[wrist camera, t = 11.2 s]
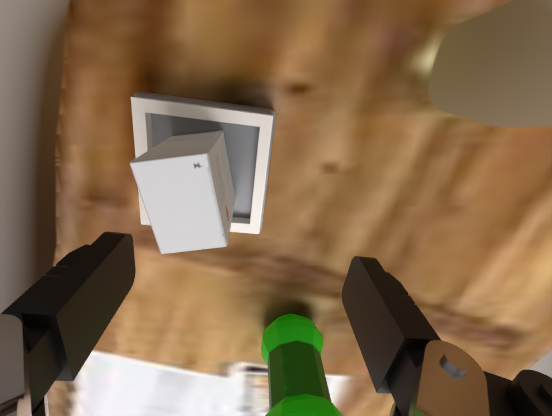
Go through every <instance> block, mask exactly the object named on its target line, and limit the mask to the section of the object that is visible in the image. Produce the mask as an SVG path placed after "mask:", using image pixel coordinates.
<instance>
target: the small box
mask: <svg viewBox="0 0 552 416" xmlns="http://www.w3.org/2000/svg"><path fill="white" fill-rule="evenodd" d="M130 166H131V169H132V172H133V175H134V178H135V181H136V184H137V187H138V189H139V192H140V195H141V198H142V201H143V204H144V206H145V209H146V212H147V215H148V218H149V221H150V224H151V227H152V230H153V233H154V235H155V238H156V241H157V244H158V247H159V250H160V253H161V254H165V253H175V252H183V251H192V250H200V249H209V248H218V247H226V246H227V245H228V239H229V233H230V228H231V222H232V216H233V210H234V205H235V199H236V197H235V192H234V187H233V182H232V176H231V171H230V166H229V160H228V155H227V149H226V144H225V138H224V132H223V131H222V130H221V131H213V132H204V133H195V134H187V135H178V136H171V137H170V138H168V139H166V140H165V141H163V142H162V143H160V144H158V145H157V146H155V147H153V148H152V149H150V150H149V151H147V152H145V153H144V154H142V155H141V156H139V157H137V158H136V159H134V160H133V161H131V162H130Z"/></svg>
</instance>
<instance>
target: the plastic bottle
mask: <svg viewBox="0 0 552 416" xmlns="http://www.w3.org/2000/svg"><path fill="white" fill-rule="evenodd" d="M322 346H323V338H322V334H321V333H320V332H319V331H318V329H317V328H316V327H315V325H314V324H313V323H312V321H311V320H310V319H309V318H307V317H303V316H300V315H296V314H292V313H289V314H285V315H281V316H280V317H277V318H276V319H275V320H274V321H273V322H272V323H271V324H270V325H269V326H267V327H266V328H265V330H264V332H263V337H262V347H261V350H262V356H263V358H264V361H265V362H266V364H267V365H268V379H269V406H270V411H269V412H268V413H267V414H266V415H265V416H343V415H342V414H341V413H340V411H339V410H338V409H337V408H336V407H335V406H334V405H333V403H331V399H330V394H329V390H328V386H327V382H326V377H325V373H324V369H323V365H322V360H321V356H320V355H321V351H322Z"/></svg>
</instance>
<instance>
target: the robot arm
mask: <svg viewBox="0 0 552 416" xmlns="http://www.w3.org/2000/svg"><path fill="white" fill-rule="evenodd" d="M134 278H135V259H134V247H133V238H132V235H131V234H126V233H116V232H104V233H103V234H102V235H101V236H100V237H99V238H98V239H97V240H96V241H95V242H93V243H92V244H91V245H84V246H82V247H80V248H78V249H76V250H74V251H72V252H70V253H68V254H67V255H66V256H65V257H64V258H63V259H61V260H60V261H59V262H58V263H57V264H56V267H55V266H54V267H53V268H51V269H50V270H49V271H48V272H47V273H46V275H45V276H42V277H41V278H40V279H39V280H38V281H37V282H36V283H35V284H34V285H32V286H31V287H30V288H29V289H28V290H27V291H26V292H25V293H24V294H22V295H21V296H20V297H19V298H18V299H17V300H16V301H15V302H13V303H12V304H11V305H10V306H9V307H8V308H7V309H6V310H4V311H3V312H2V313H1V314H0V416H49V411H48V400H47V396H46V393H47V392H48V390H49V389H50V387H51V386H52V384H53V383H54V381H55V380H57V381H73V380H74V379H75V377H76V376H77V374H78V372H79V371H80V369H81V368H82V366H83V364H84V363H85V361H86V360H87V358H88V356H89V355H90V353H91V352H92V350H93V348H94V347H95V345H96V344H97V342H98V340H99V339H100V337H101V336H102V334H103V332H104V331H105V329H106V328H107V326H108V324H109V323H110V321H111V320H112V318H113V316H114V315H115V313H116V311H117V310H118V308H119V307H120V305H121V303H122V302H123V300H124V299H125V297H126V295H127V294H128V292H129V291H130V289H131V287H132V285H133V282H134ZM342 302H343V305H344V308H345V311H346V313H347V316H348V319H349V321H350V324H351V326H352V329H353V332H354V334H355V337H356V340H357V342H358V345H359V348H360V350H361V353H362V355H363V358H364V361H365V363H366V366H367V369H368V371H369V374H370V377H371V379H372V382H373V384H374V387H375V390H376V392H377V393H391V394H392V396H393V398H394V401H395V402H394V404H393V405H392V408H391V412H390V416H552V378H550V377H549V376H547V375H544V374H542V373H540V372H537V371H534V370H522V371H520V372H519V373H518V375H517V376H516V377H515V378H514V379H513V381H511V380H508V379H505V378H502V377H500V376H497V375H494V374H491V373H488V372H485V371H483V370H482V369H481V367H480V366H479V365H478V363H477V362H476V361H475V360H474V359H473V358H472V357H471V356H470V355H469V354H467V353H466V352H465V351H463V350H462V349H460V348H459V347H457V346H455V345H453V344H451V343H448V342H445V341H442V340H441V339H440V338H439V336H438V335H437V333H436V332H435V331H434V329H433V328H432V326H431V325H430V324H429V322H428V321H427V319H426V318H425V316H424V315H423V314H422V312H421V311H420V309H419V308H418V307H417V305H415V302H414V301H413V300H412V298H411V297H410V296H408V292H407V291H406V290H405V288H404V287H403V285H402V284H401V283H400V282H399V281H398V280H397V279H396V278H394V277H393V276H392V275H391V274H390V273H387V272H385V271H384V269H383V268H382V266H381V265H380V263H379V262H378V260H377V259H376V258H369V257H359V256H355V257H354V258H353V259H352V261H351V264H350V267H349V270H348V273H347V277H346V280H345V283H344V286H343V289H342Z"/></svg>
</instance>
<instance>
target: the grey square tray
mask: <svg viewBox="0 0 552 416" xmlns="http://www.w3.org/2000/svg"><path fill="white" fill-rule="evenodd" d="M131 106H132V118H133V130H134V143H135V155H136V158H137V157H139V156H141V155H142V154H144V153H145V152H147V151H149V150H150V149H152V148H153V147H155V146H157V145H158V144H160V143H162V142H163V141H165V140H166V139H168V138H170V137H171V136H178V135H187V134H195V133H204V132H213V131H221V130H222V131H223V132H224V138H225V144H226V149H227V155H228V160H229V166H230V171H231V176H232V182H233V187H234V192H235V197H236V199H235V205H234V210H233V216H232V222H231V228H230V232H241V233H253V234H259V232H260V230H261V229H262V221H263V212H264V204H265V196H266V188H267V180H268V172H269V164H270V155H271V147H272V139H273V131H274V123H275V115H276V111H275V110H274V109H268V108H261V107H254V106H246V105H239V104H231V103H224V102H216V101H209V100H202V99H194V98H187V97H179V96H172V95H165V94H157V93H150V92H146V93H134V97H131ZM138 192H139V189H138ZM139 204H140V216H141V224H143V225H151V224H150V221H149V218H148V215H147V212H146V209H145V206H144V204H143V201H142V198H141V195H140V192H139Z"/></svg>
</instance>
